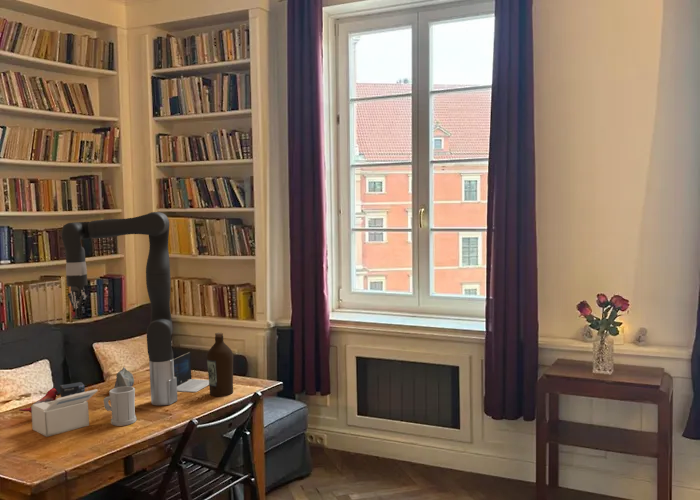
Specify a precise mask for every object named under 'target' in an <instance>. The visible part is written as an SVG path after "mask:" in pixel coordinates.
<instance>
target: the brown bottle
mask: <svg viewBox="0 0 700 500" xmlns="http://www.w3.org/2000/svg"><path fill="white" fill-rule="evenodd" d="M214 336H215V337H214V343H213V345H212V346H211V347H210V349H208V351H207V354H206V364H207V375H208V380H209V385H208V386H209V394H210V396H212V397H226V396H229V395H232V394H233V393H234V354H233V351H232V349H231V348H230V347H229V345H227V344H226V343H225V342H224V332H216V333H214Z"/></svg>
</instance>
